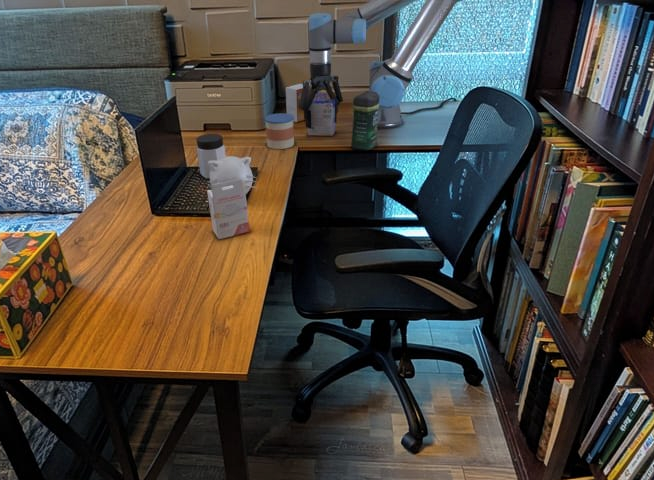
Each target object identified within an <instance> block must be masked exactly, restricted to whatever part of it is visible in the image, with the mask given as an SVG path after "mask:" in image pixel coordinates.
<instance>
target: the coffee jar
mask: <svg viewBox="0 0 654 480" xmlns="http://www.w3.org/2000/svg"><path fill="white" fill-rule="evenodd" d="M379 98H380V97H379V95H378V94H377V92H371V91H369V90H366V91H364V92H361V93H359V94H358V95H356V96H354V97H353V102H352V110H353V111H352V113H353V115H352V116H353V117H352V131H351V148H352V149H355V150H356V151H370V150H372V149H373V148H375V147H376V146H377V144H378V128H377V122H378V109H379Z"/></svg>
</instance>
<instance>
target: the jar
mask: <svg viewBox="0 0 654 480" xmlns="http://www.w3.org/2000/svg"><path fill="white" fill-rule="evenodd" d="M195 141H196V154H197V161H198V167H199V174H200V175H201V176H202V177H203V178H204V179H208V180H209V179H210V172H211V168H210V167H209V165H208V161H218V160H219V159H221V158H224V157H227V154H226V145H224V139H223V136H222V134H219V133H205V134H201V135H198V136H197V137H196V139H195Z"/></svg>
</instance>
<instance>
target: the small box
mask: <svg viewBox="0 0 654 480" xmlns="http://www.w3.org/2000/svg"><path fill="white" fill-rule="evenodd" d="M310 89H311V86H310V87H309V92H308V95H309V93H310ZM302 90H303V83H297V84H294V85H290V86H287V87H285V102H286V103H285V105H286V106H285V107H286V114H291V115H293V116H294V120H293V123H294V122H295V123H299V122H301V121H304V120H305V121H306V119H304V111H303V110H301V109H299V103H300V98H301V94H302Z"/></svg>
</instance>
